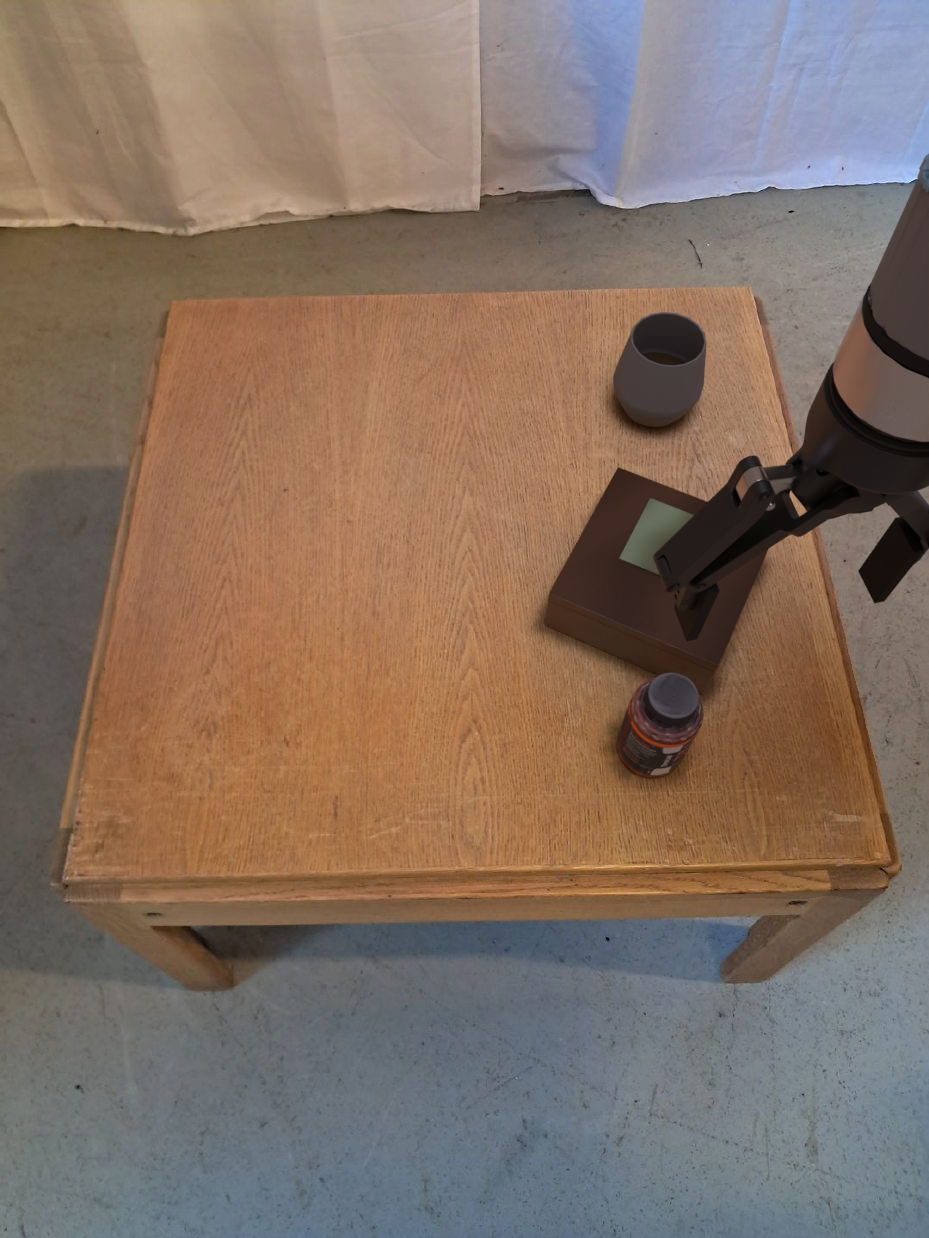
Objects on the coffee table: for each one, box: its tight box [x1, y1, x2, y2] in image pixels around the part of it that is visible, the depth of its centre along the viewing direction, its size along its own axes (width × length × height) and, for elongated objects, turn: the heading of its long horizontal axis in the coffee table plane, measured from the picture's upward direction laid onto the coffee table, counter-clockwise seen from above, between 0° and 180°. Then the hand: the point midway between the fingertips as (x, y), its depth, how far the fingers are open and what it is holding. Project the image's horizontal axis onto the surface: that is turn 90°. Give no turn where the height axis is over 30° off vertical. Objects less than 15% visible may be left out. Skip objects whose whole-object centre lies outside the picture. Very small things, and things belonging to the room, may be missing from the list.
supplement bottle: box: [616, 673, 705, 778], centre depth 76 cm, size 6×6×11 cm
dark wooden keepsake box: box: [544, 466, 769, 695], centre depth 86 cm, size 16×16×6 cm
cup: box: [612, 311, 708, 428], centre depth 95 cm, size 10×9×10 cm
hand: (778, 604), depth 63 cm, fingers open, 13 cm apart
